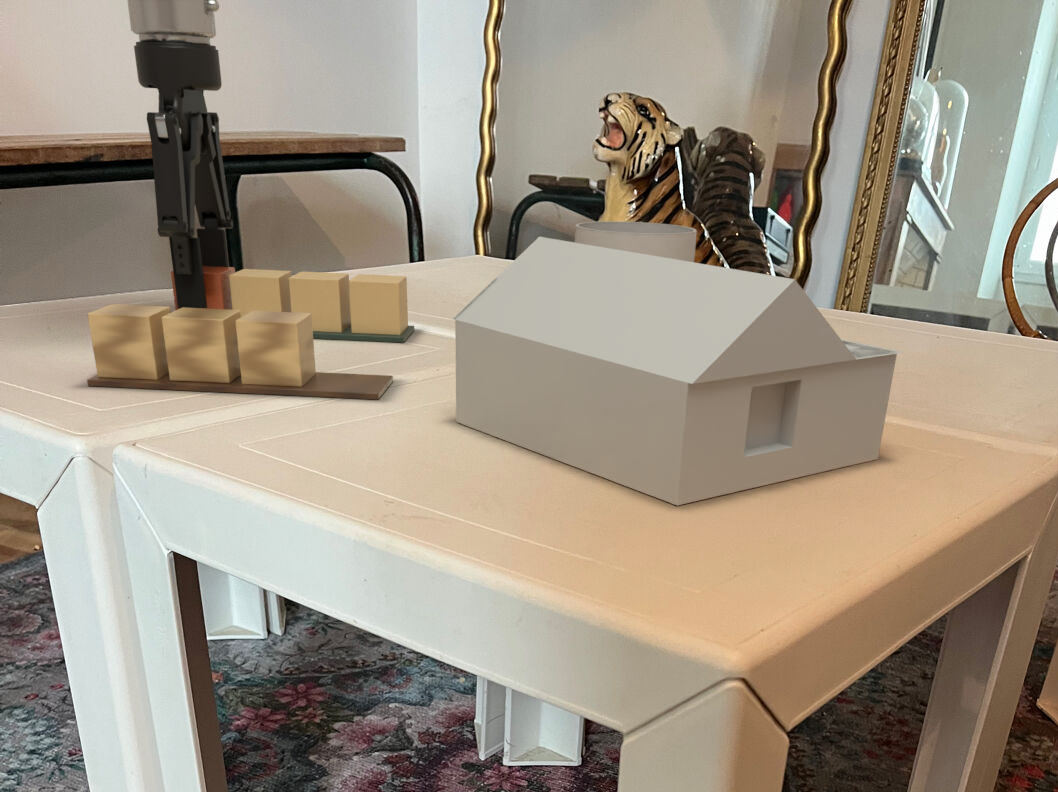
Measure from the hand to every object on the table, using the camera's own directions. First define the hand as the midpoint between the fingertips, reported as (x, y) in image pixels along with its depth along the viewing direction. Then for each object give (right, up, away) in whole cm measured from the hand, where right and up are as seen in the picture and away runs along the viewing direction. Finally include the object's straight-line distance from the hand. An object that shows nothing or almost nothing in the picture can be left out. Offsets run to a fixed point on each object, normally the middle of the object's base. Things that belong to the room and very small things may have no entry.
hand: (205, 302), depth 115 cm
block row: (+9, -3, +1) cm, 9 cm away
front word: (+10, -15, -21) cm, 27 cm away
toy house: (+44, -23, -31) cm, 59 cm away
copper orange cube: (0, -2, +1) cm, 2 cm away
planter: (+44, 0, +8) cm, 45 cm away
